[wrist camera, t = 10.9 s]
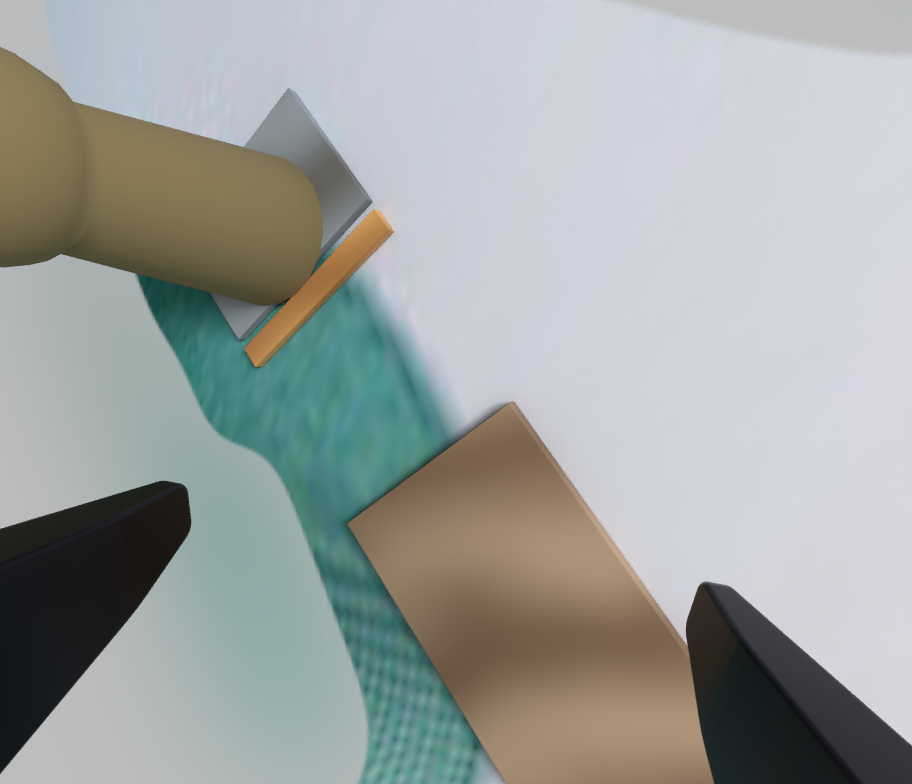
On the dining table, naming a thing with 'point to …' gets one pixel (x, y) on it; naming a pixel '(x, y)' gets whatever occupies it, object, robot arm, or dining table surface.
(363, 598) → the dining table surface
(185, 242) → the cork
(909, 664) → the dining table surface
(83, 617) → the robot arm
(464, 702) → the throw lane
